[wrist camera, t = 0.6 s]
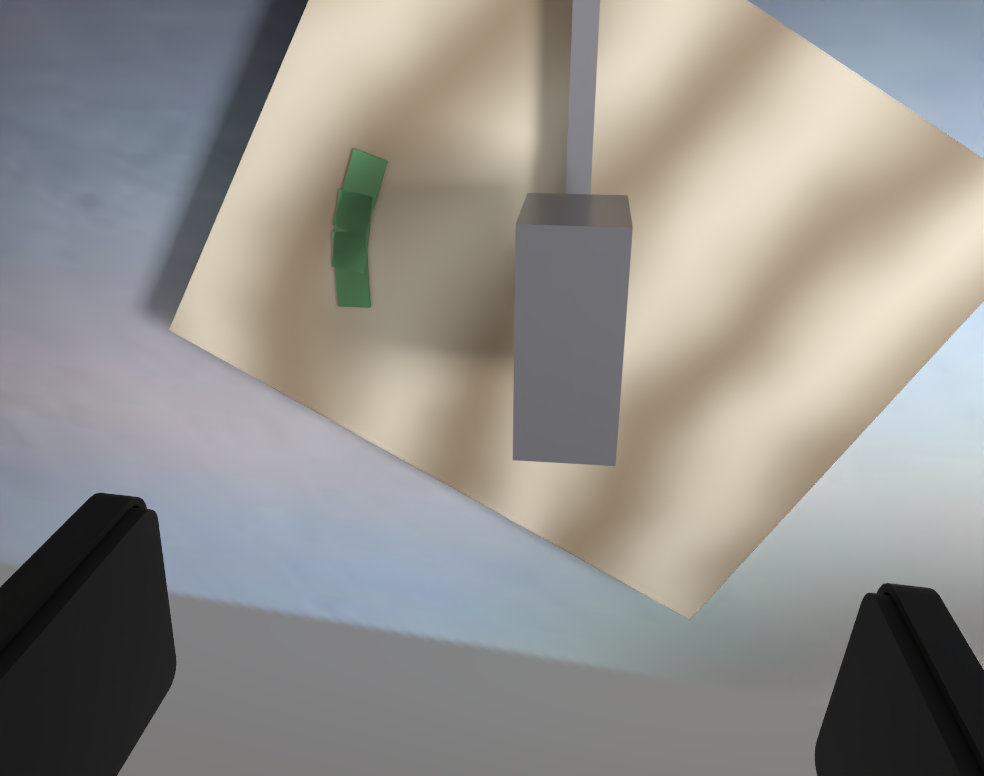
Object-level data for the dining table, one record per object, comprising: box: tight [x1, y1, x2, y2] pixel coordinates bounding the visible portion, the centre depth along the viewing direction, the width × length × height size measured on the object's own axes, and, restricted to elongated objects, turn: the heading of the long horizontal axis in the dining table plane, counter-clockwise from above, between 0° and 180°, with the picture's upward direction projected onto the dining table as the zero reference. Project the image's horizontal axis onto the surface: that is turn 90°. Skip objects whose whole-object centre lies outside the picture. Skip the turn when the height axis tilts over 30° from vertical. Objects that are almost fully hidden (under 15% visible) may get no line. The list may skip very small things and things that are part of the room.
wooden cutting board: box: [169, 0, 984, 620], centre depth 30 cm, size 24×20×2 cm
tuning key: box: [513, 0, 633, 466], centre depth 25 cm, size 12×3×7 cm, turn 0°
